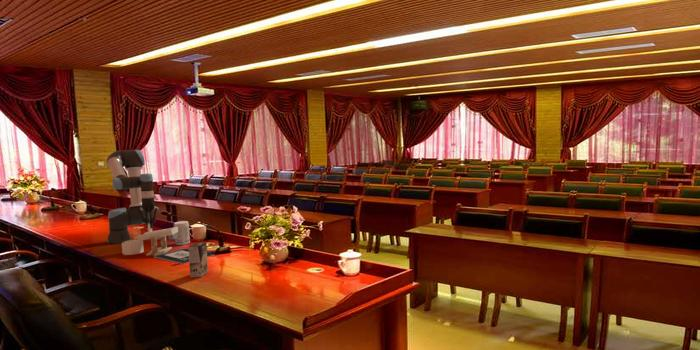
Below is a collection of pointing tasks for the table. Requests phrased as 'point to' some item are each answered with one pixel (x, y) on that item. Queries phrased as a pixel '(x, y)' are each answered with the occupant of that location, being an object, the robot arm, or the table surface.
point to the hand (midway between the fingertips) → (150, 233)
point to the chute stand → (160, 249)
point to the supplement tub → (182, 233)
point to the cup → (132, 247)
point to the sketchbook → (177, 256)
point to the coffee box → (198, 259)
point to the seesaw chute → (160, 234)
